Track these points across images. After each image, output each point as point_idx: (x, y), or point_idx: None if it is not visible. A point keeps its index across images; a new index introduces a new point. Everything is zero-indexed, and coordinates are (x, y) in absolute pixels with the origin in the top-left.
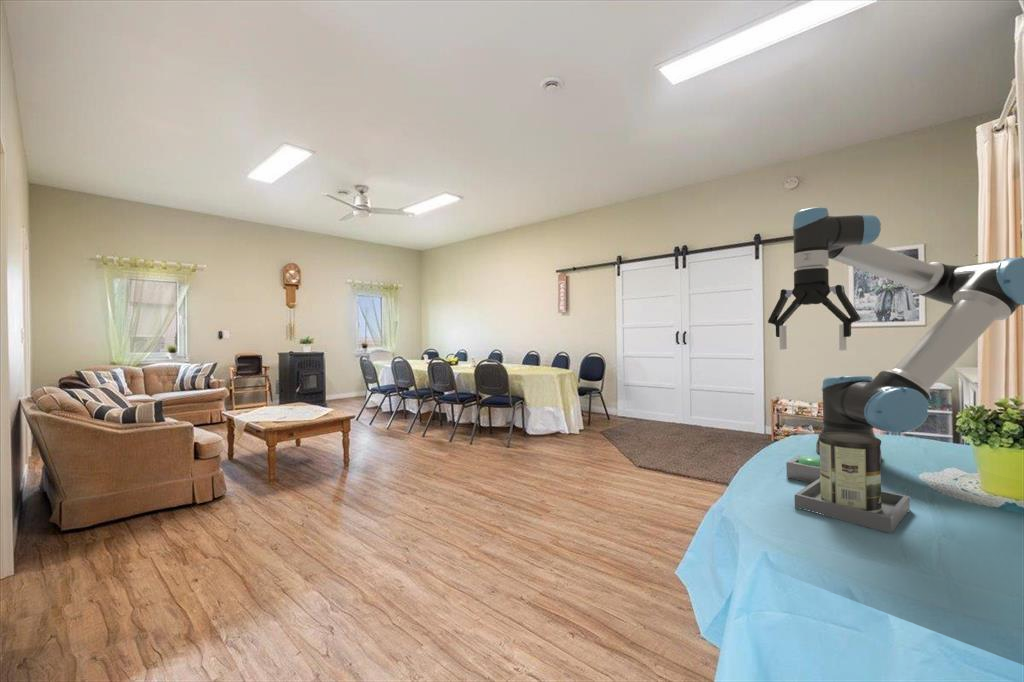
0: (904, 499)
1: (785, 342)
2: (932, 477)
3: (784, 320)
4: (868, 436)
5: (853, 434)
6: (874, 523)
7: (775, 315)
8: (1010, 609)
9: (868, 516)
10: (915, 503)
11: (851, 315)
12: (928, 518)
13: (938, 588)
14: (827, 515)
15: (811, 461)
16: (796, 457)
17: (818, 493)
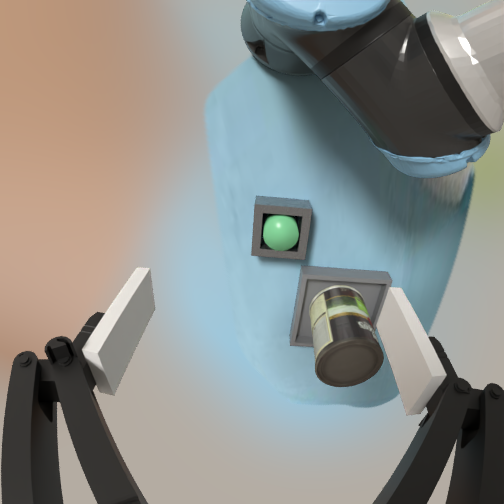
0: (386, 293)
1: (139, 298)
2: None
3: (97, 406)
4: (372, 347)
5: (356, 344)
6: None
7: (55, 433)
8: None
9: None
10: (395, 244)
11: (463, 441)
12: (399, 284)
13: (377, 387)
14: None
15: (285, 247)
16: (255, 218)
17: (304, 296)
